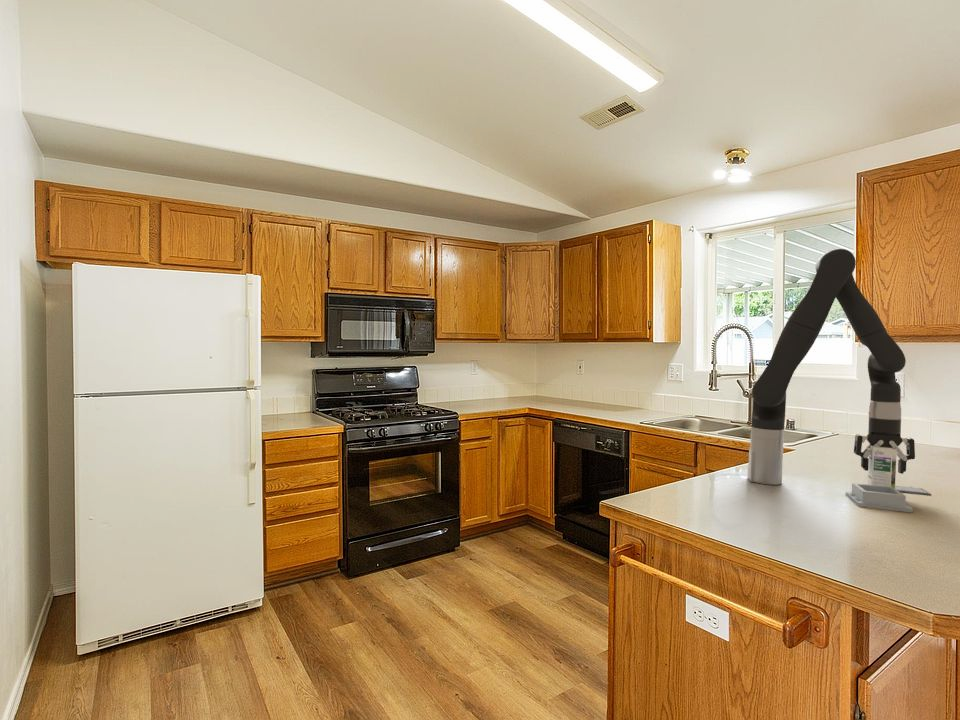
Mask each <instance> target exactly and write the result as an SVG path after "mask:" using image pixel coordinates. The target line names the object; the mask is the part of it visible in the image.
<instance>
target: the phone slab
mask: <svg viewBox="0 0 960 720" xmlns="http://www.w3.org/2000/svg"><path fill="white" fill-rule="evenodd" d="M895 489H896V490H898V491H899V492H901V493H902V494H913V495H914V494H915V495H922V496H932V493H931V492H929V491H927V490H925V489H923V488H921V487H914V486H913V487H912V486H903V485H902V486H901V485H895Z"/></svg>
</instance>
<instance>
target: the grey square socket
mask: <svg viewBox="0 0 960 720" xmlns="http://www.w3.org/2000/svg"><path fill="white" fill-rule="evenodd" d="M845 496H846V497H847V498H848V499H849V500H851V502H852V503H854V504H855V505H856V506H857V507H860V508H869V509H878V510H888V511H896V512H906V513H913V508H912V507H911V506H909V505H908V504H906V501H907V500H906V497H907V496H906V494H905V493H902V492H899V491H898V490H896V489H895V488H893V487H888V486H878V485H868V483H866V484H865V483H856V482H852V483H851V491H845Z"/></svg>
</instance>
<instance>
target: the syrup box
mask: <svg viewBox="0 0 960 720" xmlns="http://www.w3.org/2000/svg"><path fill="white" fill-rule="evenodd" d="M871 447H872V446H871ZM871 447H870V448H871ZM868 459H869V464H868V471H867V484H868V485H878V486H888V487H893V488H895V486H896V477H897V476H896V473H897V470H896V469H897V450H896V448H889V447H873V449H872V454H871V455H870V456H869V457H868Z"/></svg>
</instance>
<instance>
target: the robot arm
mask: <svg viewBox="0 0 960 720" xmlns="http://www.w3.org/2000/svg"><path fill="white" fill-rule="evenodd" d="M856 260H857V259H856V257H855V256H854V254H853V253H852V252H851V251H850V250H848V249H845V248H835V249H834V248H833V249H831V250H828V251H827V252H825V253H824V254H822V255H820V256H819V258H818V259H817V261H816V263H815V272H816V273H815V275H814V278H813V280H812V283H811V284H810V286H809V289H808V290H807V292H806V294H805V295H803V298H802V299H801V300H800V301H799V303H798V304H797V305H796V307H795V308H794V310H793V311H792V312H791V314H790V316H789V318H788V319H787V321H786V323H785V325H784V326H783V329H782V331H781V333H780V336H779V337H778V339H777V342H776V345H775V347H774V350H773V352H772V355H771V358H770V360H769V362H768V364H767V366H766V367H765V369H764V371H763V372H762V373H761V374H760V376H759V378H758V379H757V380H756V382H755V383H754V384H753V386H752V388H751V395H752V398H753V400H752V413H751V423H750V426H751V427H750V444H749V445H750V446H749V449H748V469H747V470H748V471H747V478H748V480H749V482H750V483H751V482H753V483H757V484H763V485H771V486H772V485H773V486H777V485H782V483H783V464H784V463H783V461H784V439H785V438H784V437H785V421H786V406H787V404H786V403H787V390H788V387H789V384H790V382H791V380H792V377H793V376H794V374H795V373H794V372H795V371H796V370H797V368H798V367H799V365H800V364H801V362H802V361H803V360H804V359H805V357H806V356H807V355H808V353H809V352H810V350H811V349H812V347H813V345H814V343H815V342H816V340H817V338H818V336H819V334H820V332H821V331H822V329H823V327H824V324H825V322H826V319H827V318H828V316H829V313H830V311H831V309H832V306H833V303H834V302H835V300H837V302H838V303H839V306H840V307H841V308H842V310H843V313H844V315H845V317H846V318H847V321H848V322H849V324H850V326H851V327H852V330H853V332H854V333H855V335H856V337H857V339H858V340H859V342H860V343H861V344H862V345H863V346H866V347H867V348H868V350H869V352H870V355H869V356H868V358H867V359H868V360H867V373H868V377H869V382H870V399H869V400H870V401H869V402H870V403H869V408H868V431H867V433H868V434H867V435H862V434H861V435H860V433H859V434H857V433H856V434H855V436H854V443H853V444H854V445H853V454H855V455H857V456H859V457H860V467H861V468H862V469H863V471H867V472H868V464H869V456H870V455H871V454H872V449H873V447H889V448H896V450H897V455H896V457H898V458H899V459H898V460H897V472H898V474H901V475H902V474H903V475H904V473H906V472H907V462H908V461H909V460H915V458H916V450H915V449H916V447H915V446H916V445H915V439H913V438H912V437H902V436H901V433H902V432H901V431H902V406H901V396H902V395H901V394H902V393H901V389H902V388H901V385H900V383H899V382H898V381H897V380H896V373H899V372H901V371H902V370H903V369H904V368H905V366H906V361H907V360H906V356H905V354H904V351H903V350H902V349H901V347H900V346H899V344H898V343H897V342H896V341H895V339H893V338H892V336H891V335H890V334H889V333H888V332H887V329H886V327H885V326H884V323H883V322H882V320H881V318H880V316H879V315H878V313H877V311H876V310H875V309H874V307H873V306H872V304H871V303H870V302H869V300H867V298H866V297H865V295H863V293H862V292H861V289H860V287H859V286H858V285H857V282H856V281H855V277H854V274H853V273H854V271H855V269H856V264H857V262H856ZM865 441H867V442H868V443H869V444H868V445H867V446H866V447H865V449H864V450H863V451H862V447H863V443H864V442H865ZM902 443H903V444H904V446H905V448H906V454H905V453H904V452H903V451H902V450H901V448H900V447H899V446H900V445H901V444H902ZM871 446H872V447H871ZM870 447H871V448H870Z"/></svg>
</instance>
